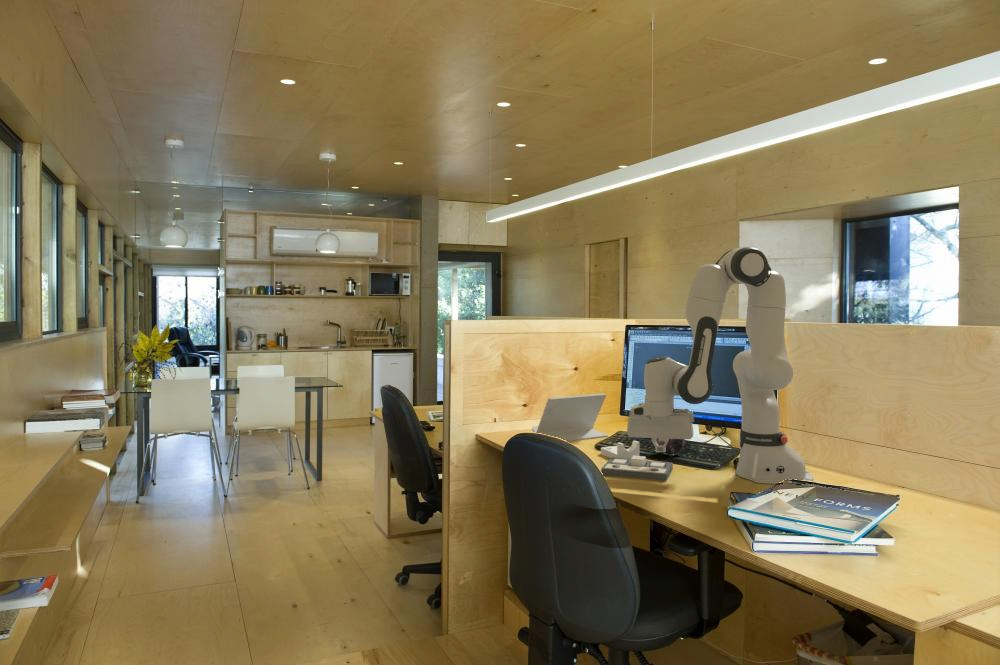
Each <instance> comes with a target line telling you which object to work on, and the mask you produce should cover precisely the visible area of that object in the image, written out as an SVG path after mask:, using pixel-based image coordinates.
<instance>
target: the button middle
mask: <svg viewBox="0 0 1000 665" xmlns="http://www.w3.org/2000/svg"><path fill="white" fill-rule="evenodd" d="M646 460H647V457H646V456H643V455H640V456H634V455H633V457H632V458H631V466H640V467H644V466H645V465H646Z"/></svg>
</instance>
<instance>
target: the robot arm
mask: <svg viewBox="0 0 1000 665" xmlns="http://www.w3.org/2000/svg"><path fill="white" fill-rule="evenodd" d="M734 284H737V285H738V284H741V285H744V286H745V288H746V290H747V295H748V298H747V308H746V318H745V319H746V320H745V321H746V322H745V333H746V335H747V337H748V340H749V341H748V342H749V345H750V348H749V349H746V350H743V351H740V352H739V353H737V354H736V355H735V357H734V359H733V361H732V370H733V372H734V374H735V377H736V379H737V384H738V385H737V387H738V390H739V395H740V400H741V429H740V432H739V447H740V449H739V457H738V462H737V466H736V469H735V472H734V473H735V474H736V475H737V476H738V477H740V478H744V479H747V480H749V481H752V482H754V483H757V484H769V485H771V484H773V485H774V484H775V485H776V483H779V482H782V481H783V480H785V479H797V480H804V481H814V476H813V474H812V473H811V472H810V471H808V470H807V469H806V464H805V461H804V459H803V457H802V456H801V454H799V453H798V452H796V451H795V449H792V448H791V447H790V446H789V445H787V442H789V438H788V437H787V434H786V433H784V432H782V431H780V420H781V419H780V414H781V413H780V412H781V409H780V405H779V402H778V400H777V398H776V394H775V391H778V390H782V389H785V388H787V387H788V386H789V385H790V384H791V382H792V381H793V378H794V377H793V376H794V369H793V367H792V365H791V363H790V361H789V358H788V352H787V347H786V340H785V322H786V321H785V320H786V318H785V317H786V307H787V306H786V305H787V302H786V301H787V295H786V294H787V291H786V282H785V278H784V277H783V275H782V274H781V273H779V272H778V271H774V270H772V268H771V266H770V264H769V262H768V258H767V257H766V255H765V254H764V252H763V251H762V250H760V249H758V248H756V247H752V246H747V247H746V246H740V247H735V248H733V249H731V250H727V251H726V252H725V253H724V254H722V255H721V257H720V258H719V259H718V260H717V261H716V262H715V263H706V264H703V265H701V266H700V267H698V269H697V270H696V272H695V275H694V277H693V280H692V282H691V285H690V289H689V292H688V296H687V299H686V304H685V305H686V306H685V319H686V321H687V323H688V325H689V327H690V330H691V333H692V337H693V338H692V341H693V342H692V346H691V351H690V352H691V353H690V357H689V364H687V365H686V364H684V363H680V362H678V361H676V360H674V359H672V358H671V357H670V356H667V355H662V356H661V355H659V356H655V357H652V358H650V359H648V360H647V361H646V362H645V366H644V373H643V385H644V390H645V395H644V402H640V403H638V404H634V405H633V406H631V408H630V411H629V413H630V416H629V418H628V419H627V430H626V433H627V435H628V437H629V438H641V439H642V438H647V439H651V443H652V444H653V446H654V449H655V452H656V453H659V452H665V451H666V445H667V443H668V441H669V439H685V440H692V438H693V437H694V425H693V422H694V420H695V418H694V417H695V415H694V412H693V411H691V410H690V409H688V408H684V409H683V408H682V409H681V408H674V407H675V406H674V404H675V403H674V397H675V396H679V397H680V398H681V399H682V400H683V401H684V402H685V403H688V404H690V405H699V404H702V403H705V402H706V401H707V400H708V399H709V398H710V397H711V395H712V394H713V390H714V389H713V388H714V386H713V385H714V384H713V379H712V373H711V372H712V364H713V358H714V353H715V347H716V341H717V335H718V331H719V325H720V321H721V319H722V315H723V311H724V308H725V303H726V299H727V294H728V292H729V289H730V288H731V287H732V286H733V285H734ZM657 438H663V440H664V442H665V444H664V445H663V446H661V445H658V444H657V442H656V440H657Z"/></svg>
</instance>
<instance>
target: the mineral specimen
mask: <svg viewBox="0 0 1000 665" xmlns="http://www.w3.org/2000/svg"><path fill="white" fill-rule="evenodd" d="M656 442H657V444H658V445H661V446H663V445H664V444H665V442H664V440H663V438H657V440H656ZM685 443H686V439H669V441H668V443H667V445H666V451H665V452H661V453H667V454H676V453H678V454H679V453H680V452H681V451H682V449H683V448H684V447H685Z"/></svg>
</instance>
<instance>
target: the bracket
mask: <svg viewBox="0 0 1000 665" xmlns="http://www.w3.org/2000/svg"><path fill="white" fill-rule="evenodd" d="M640 444H641V443H640V441H637V440H632V444H631V446H630V447H628V448H626V447H625V443H622V442H617V443H616V445H612V446H604V447H600V455H601V456H605V457H607V458H608V459H610V458H611V457H613V458H624V459H631V458H632V457H633V455H634V456H641V455H640V453H641V452H640Z"/></svg>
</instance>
